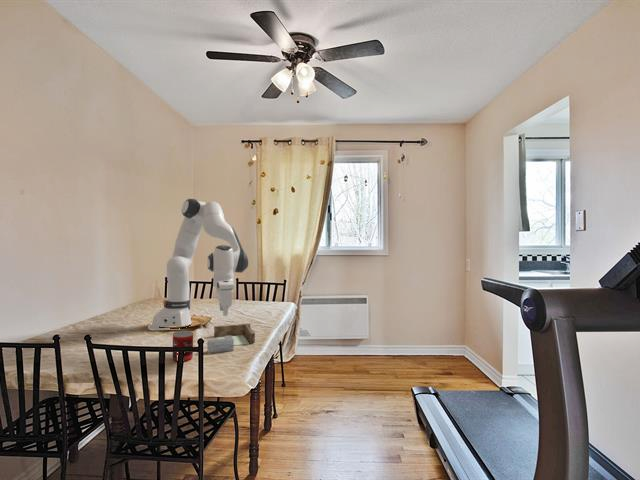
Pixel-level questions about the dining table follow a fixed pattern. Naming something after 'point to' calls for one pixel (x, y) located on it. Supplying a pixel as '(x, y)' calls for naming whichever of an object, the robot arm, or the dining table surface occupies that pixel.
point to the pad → (238, 340)
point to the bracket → (220, 345)
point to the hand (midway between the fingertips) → (223, 313)
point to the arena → (235, 331)
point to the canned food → (183, 343)
